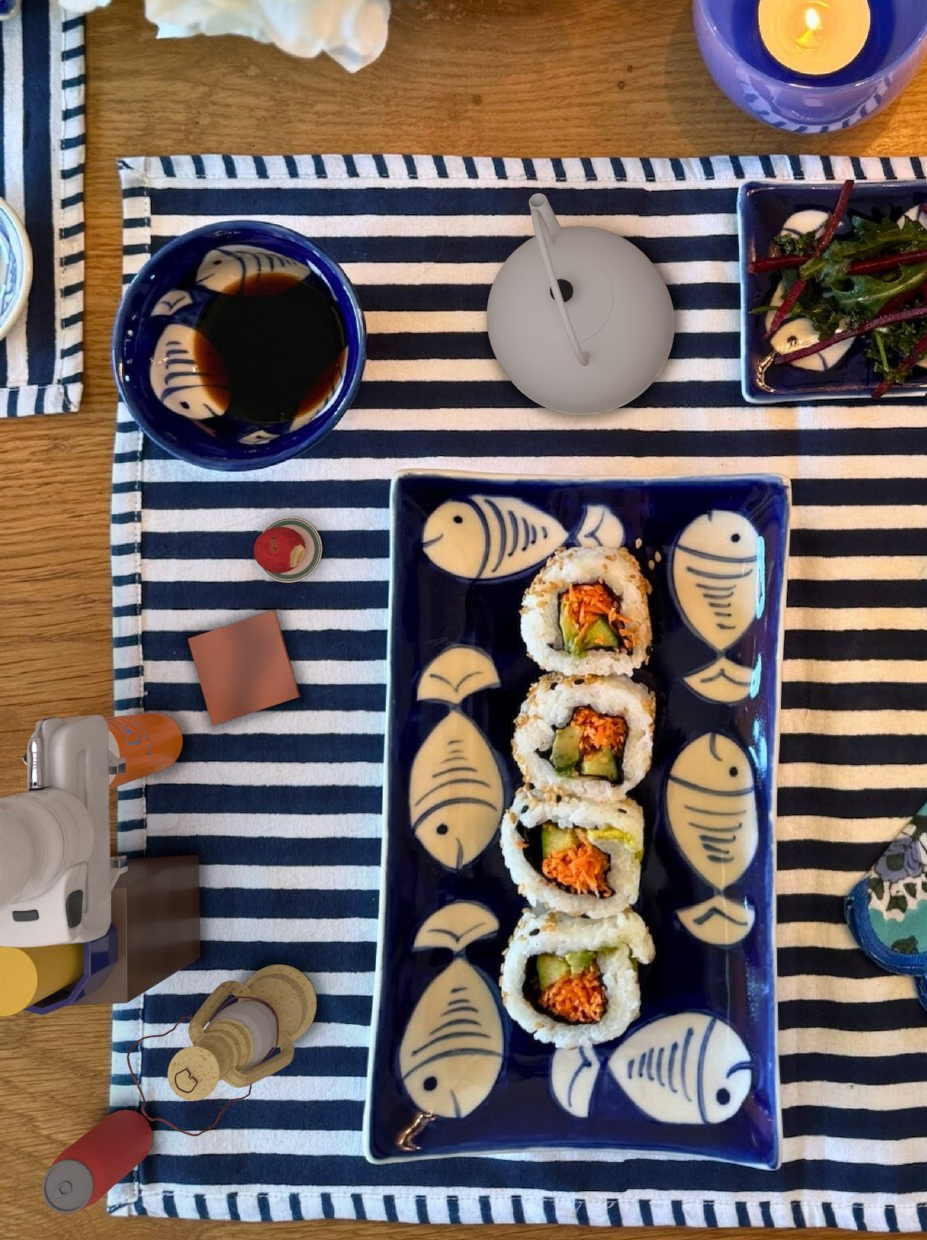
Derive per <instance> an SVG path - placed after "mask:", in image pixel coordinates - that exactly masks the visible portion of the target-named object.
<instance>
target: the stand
mask: <svg viewBox="0 0 927 1240" xmlns="http://www.w3.org/2000/svg"><path fill="white" fill-rule="evenodd" d="M127 864H128V866H127V867H128V871H127V872H125V873H122V874H120V876H119V878H118V880H117V882H116V884H115V886H114V887H113V889H112V891H111V922H112V924H113V925H114V926H115V928H116V929H117V963H116V964H115V966H114V967H113V969H112V970H111V972H110V973H109V975H108V976H107V978H106V979H105V981H104V982H103V984H102V985H101V987H100V988H99V989H97V990H95V991H93V992H92V993H90V994H88V995H86V996H85V997H83V998H81V999H79V1000H78V1001H76V1002H74V1003H73V1004H70V1005H68V1006H67V1007H81V1006H98V1005H99V1006H100V1005H117V1004H128V1003H130V1002H131V1001H134V1000H135V999H136V998H138V997H140V996H141V995H143V994H144V993H146V992H147V991H149V990H151V989H152V988H154V987H155V986H157V985H158V984H160V983H162V982H163V981H165V980H167V979H168V978H170V977H172V976H173V975H174V974H176V973H178V972H179V971H181V970H183V969H184V968H186V967H188V965H191V964H192V963H194V962H195V961H197V960H199V959H200V958H201V915H200V914H201V911H200V909H201V907H200V855H199V854H191V855H176V856H175V855H173V856H157V857H156V856H155V857H137V858H127ZM80 980H81V978H80V979H78V980H76V981H75V982H73V983H71V984H69V985H67V986H65V987H64V988H62V989H61V990H65V991H68V992H73V990H74V989H75V987H76V986H77V984H78V983H79V981H80Z"/></svg>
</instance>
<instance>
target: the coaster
mask: <svg viewBox="0 0 927 1240" xmlns="http://www.w3.org/2000/svg"><path fill="white" fill-rule="evenodd" d="M187 642H188V645H189V649H190V652H191V655H192V659H193V662H194V665H195V666H194V667H195V670H196V673H197V677H198V681H199V684H200V687H201V691H202V694H203V698H204V701H205V705H206V710H207V712H208V716H209V719H210V723H211V726H217V725H220V724H223V723H225V722H228V721H231V720H234V719H238V718H241V717H243V716H247V715H249V714H253V713H256V712H259V711H262V710H265V709H267V708H270V707H273V706H276V705H280V704H282V703H285V702H289V701H292V700H295V699H298V698H300V697H301V694H300V690H299V687H298V684H297V680H296V677H295V673H294V670H293V666H292V663H291V660H290V656H289V652H288V649H287V645H286V642H285V638H284V635H283V632H282V628H281V624H280V621H279V618H278V614H277V611H276V610H270V611H268V612H265V613H261V614H259V615H255V616H252V617H250V618H247V619H243V620H240V621H238V622H234V623H231V624H228V625H225V626H222V627H219V628H216V629H213V630H210V631H207V632H204V633H201V634H198V635H195V636H192V637H189V638H187Z"/></svg>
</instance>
